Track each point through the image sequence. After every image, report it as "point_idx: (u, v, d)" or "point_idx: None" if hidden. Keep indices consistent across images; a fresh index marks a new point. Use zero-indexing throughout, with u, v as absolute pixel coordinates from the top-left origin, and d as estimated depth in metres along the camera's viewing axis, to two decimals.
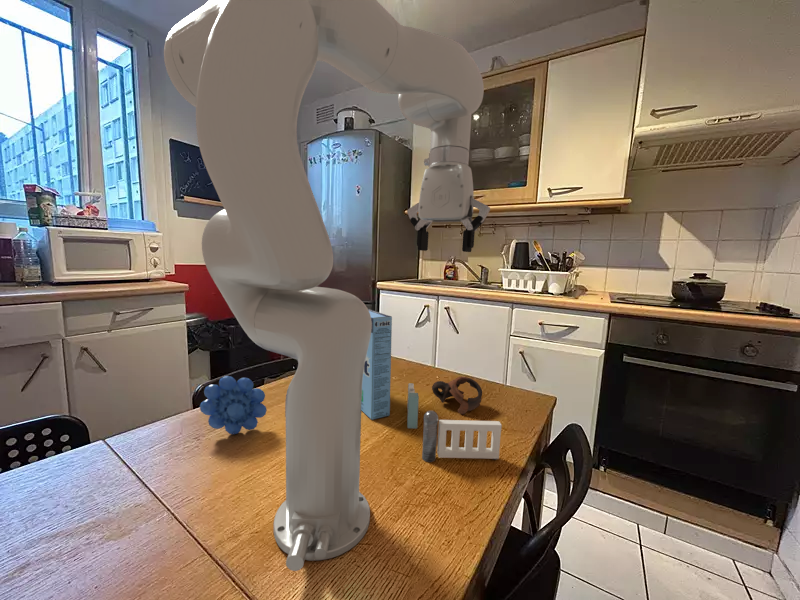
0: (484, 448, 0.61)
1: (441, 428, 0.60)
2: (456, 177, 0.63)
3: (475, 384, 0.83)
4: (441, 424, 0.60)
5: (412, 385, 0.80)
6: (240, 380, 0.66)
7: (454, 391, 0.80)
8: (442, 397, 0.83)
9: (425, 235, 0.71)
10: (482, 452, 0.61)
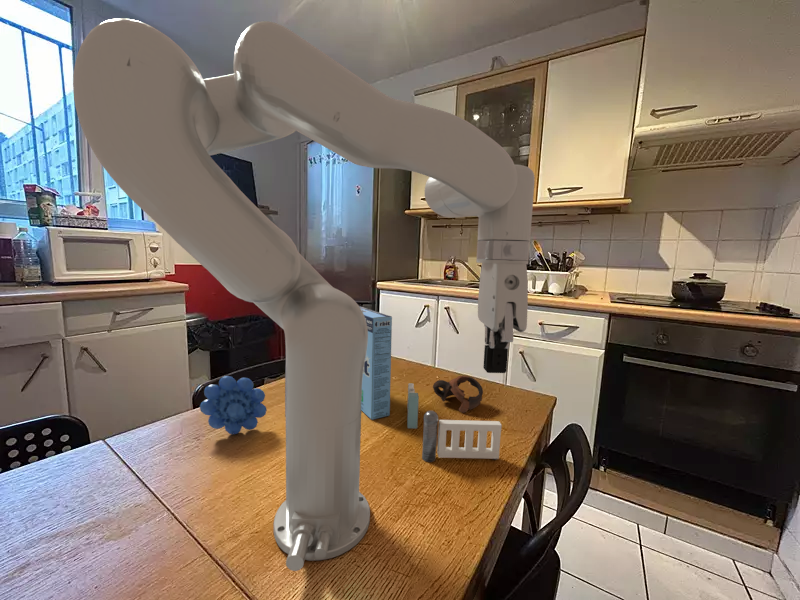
0: (484, 448, 0.61)
1: (441, 428, 0.60)
2: None
3: (476, 383, 0.84)
4: (441, 424, 0.60)
5: (412, 385, 0.80)
6: (240, 380, 0.66)
7: (455, 390, 0.80)
8: (443, 396, 0.84)
9: None
10: (482, 452, 0.61)
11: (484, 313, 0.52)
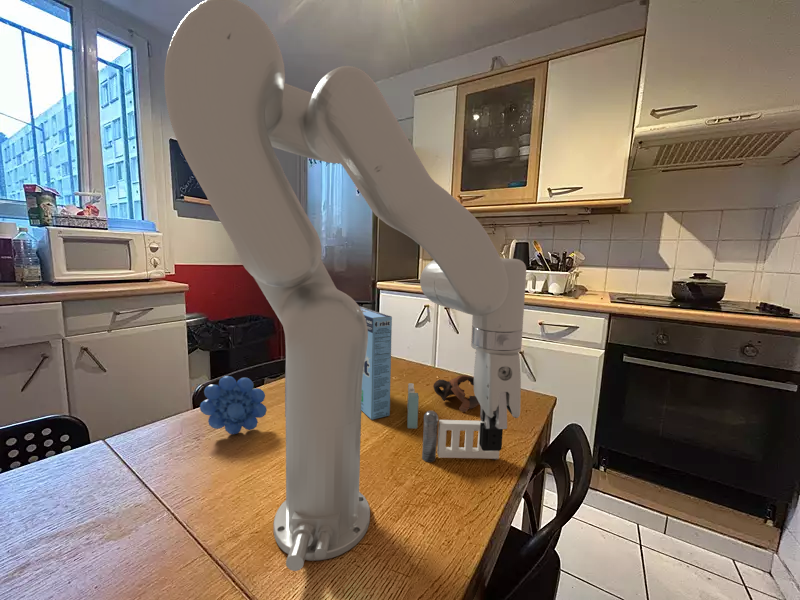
0: None
1: (441, 428, 0.60)
2: None
3: None
4: (441, 424, 0.60)
5: (412, 385, 0.80)
6: (240, 380, 0.66)
7: (456, 389, 0.81)
8: (443, 395, 0.84)
9: None
10: (482, 452, 0.61)
11: (479, 394, 0.54)
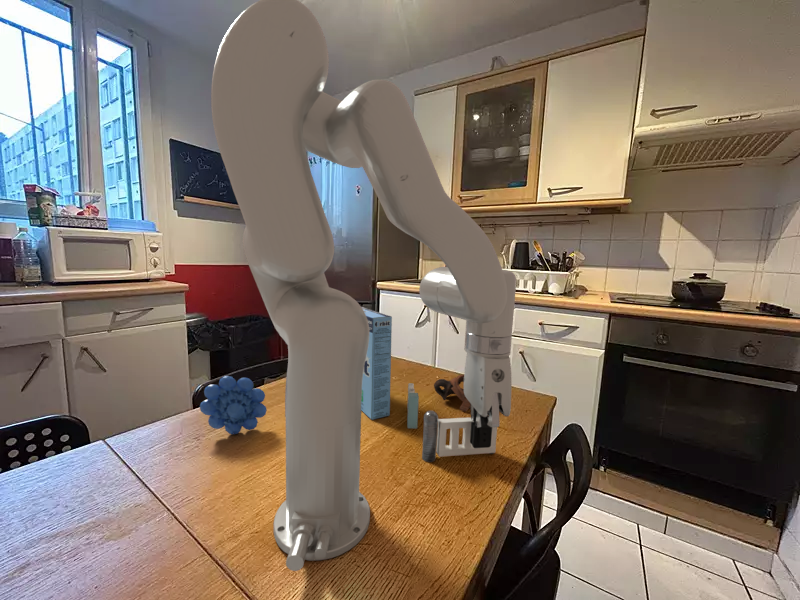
0: None
1: (441, 427, 0.60)
2: None
3: None
4: (441, 423, 0.60)
5: (412, 385, 0.80)
6: (240, 380, 0.66)
7: (456, 388, 0.81)
8: (444, 395, 0.84)
9: None
10: None
11: (471, 396, 0.58)
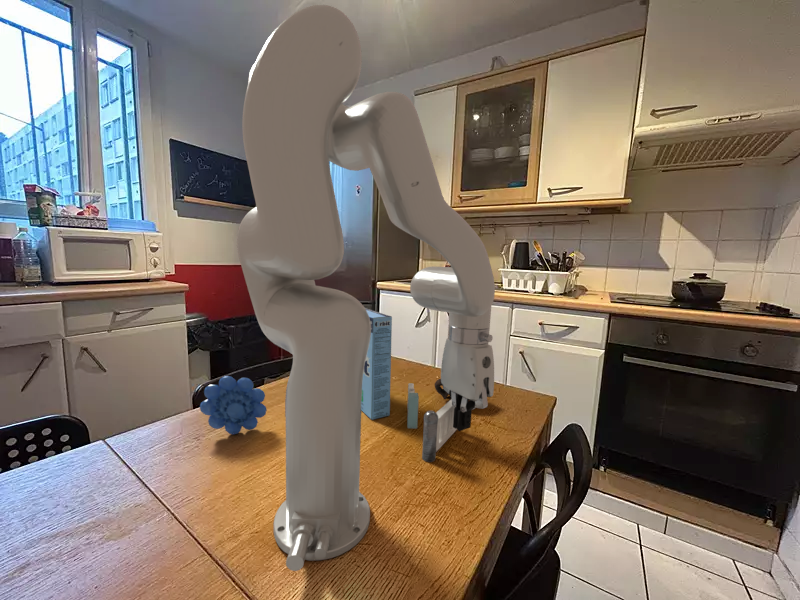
0: None
1: (438, 423, 0.62)
2: None
3: None
4: (438, 419, 0.62)
5: (412, 385, 0.80)
6: (240, 380, 0.66)
7: None
8: (444, 394, 0.85)
9: None
10: (452, 428, 0.69)
11: (457, 384, 0.63)
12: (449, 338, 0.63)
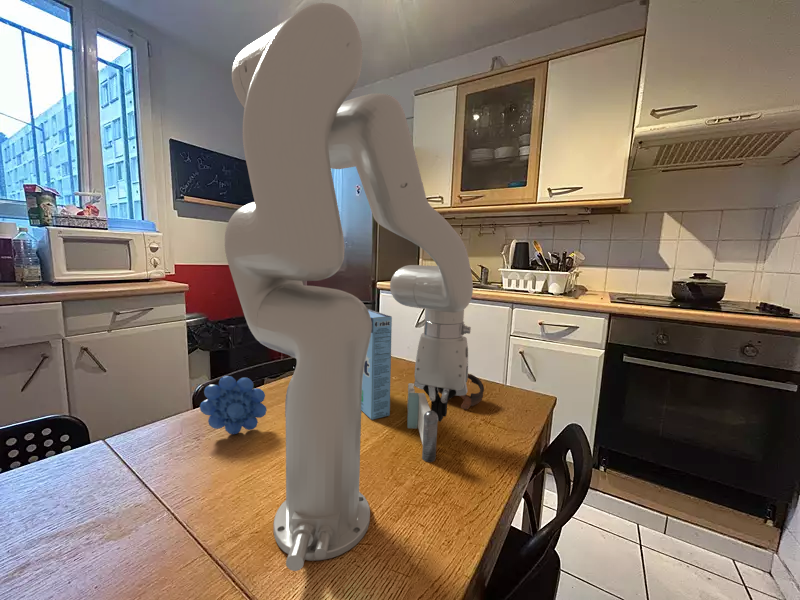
0: None
1: None
2: None
3: (477, 380, 0.86)
4: None
5: (412, 385, 0.80)
6: (240, 380, 0.66)
7: None
8: None
9: None
10: None
11: (440, 378, 0.66)
12: (432, 335, 0.64)
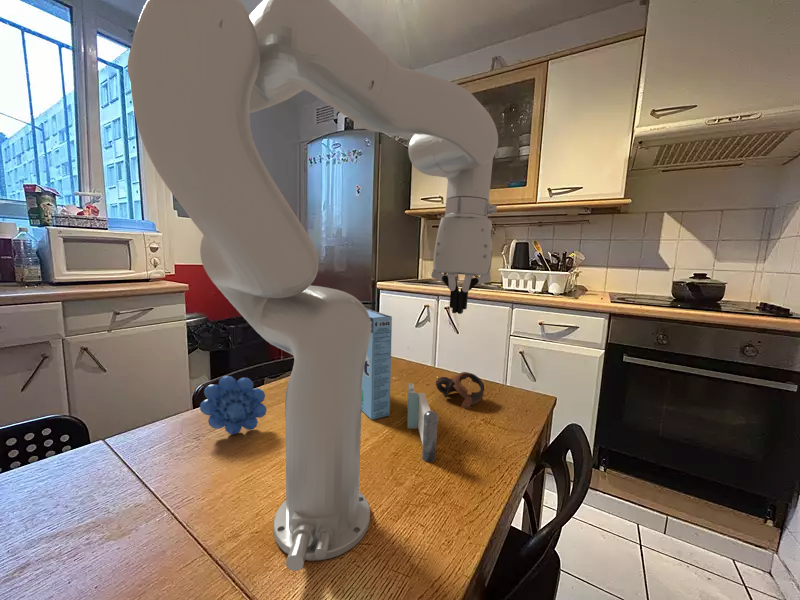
0: None
1: None
2: None
3: (477, 379, 0.86)
4: None
5: (412, 385, 0.80)
6: (240, 380, 0.66)
7: (458, 386, 0.83)
8: (446, 392, 0.86)
9: None
10: None
11: (462, 262, 0.60)
12: (455, 211, 0.58)
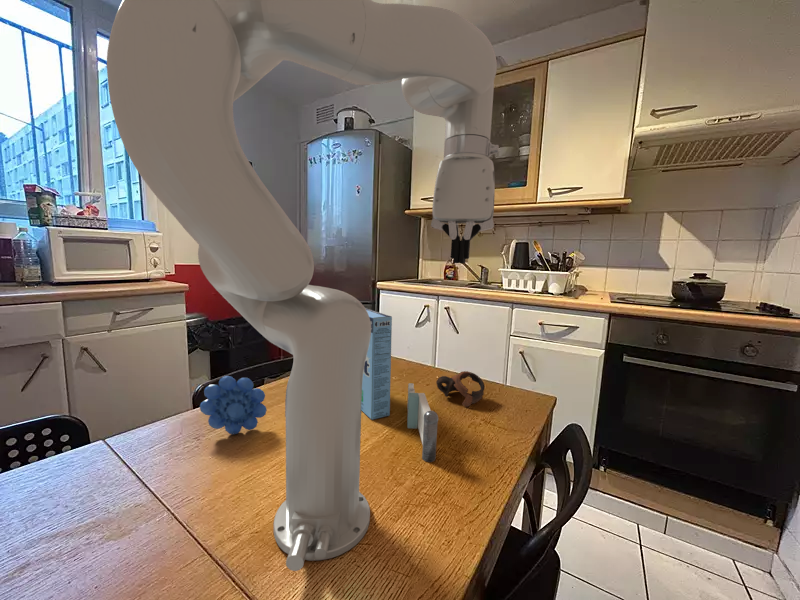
0: None
1: None
2: None
3: (477, 378, 0.87)
4: None
5: (412, 385, 0.80)
6: (240, 380, 0.66)
7: (459, 385, 0.83)
8: (446, 391, 0.86)
9: None
10: None
11: (463, 207, 0.57)
12: (455, 151, 0.55)
